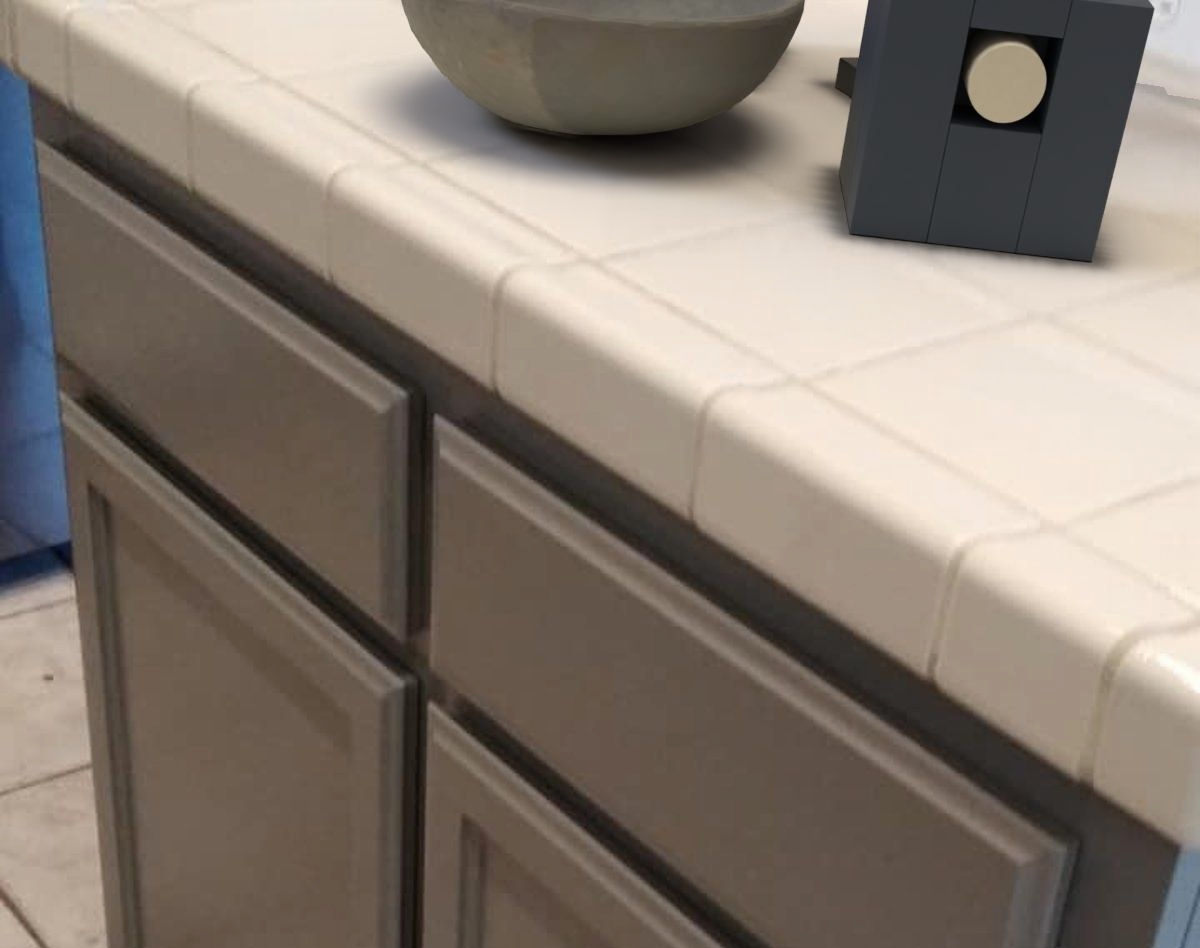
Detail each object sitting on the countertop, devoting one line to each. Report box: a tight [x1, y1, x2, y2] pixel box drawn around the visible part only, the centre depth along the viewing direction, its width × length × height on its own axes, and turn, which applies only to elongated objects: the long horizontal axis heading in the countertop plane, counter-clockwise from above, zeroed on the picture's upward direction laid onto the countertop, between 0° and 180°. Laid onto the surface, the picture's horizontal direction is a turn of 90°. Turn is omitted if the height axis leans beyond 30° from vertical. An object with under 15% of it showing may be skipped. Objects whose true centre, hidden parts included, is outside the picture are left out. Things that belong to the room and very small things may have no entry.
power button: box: [960, 29, 1046, 123], centre depth 96 cm, size 4×4×4 cm
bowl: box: [400, 0, 806, 136], centre depth 108 cm, size 21×21×8 cm
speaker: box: [838, 0, 1156, 262], centre depth 100 cm, size 10×12×13 cm
